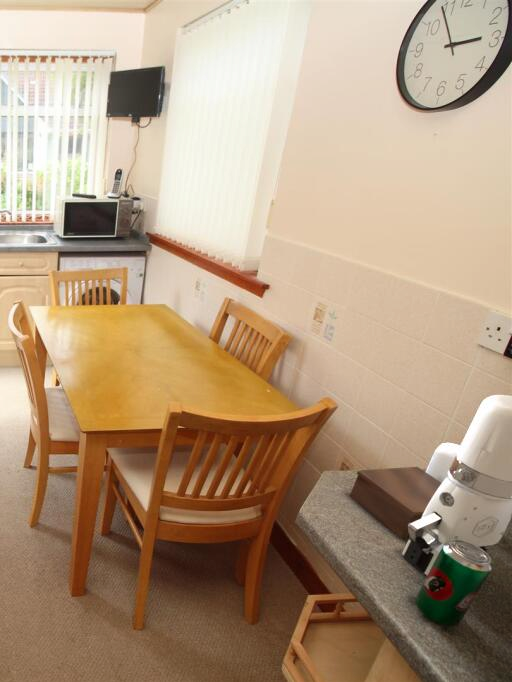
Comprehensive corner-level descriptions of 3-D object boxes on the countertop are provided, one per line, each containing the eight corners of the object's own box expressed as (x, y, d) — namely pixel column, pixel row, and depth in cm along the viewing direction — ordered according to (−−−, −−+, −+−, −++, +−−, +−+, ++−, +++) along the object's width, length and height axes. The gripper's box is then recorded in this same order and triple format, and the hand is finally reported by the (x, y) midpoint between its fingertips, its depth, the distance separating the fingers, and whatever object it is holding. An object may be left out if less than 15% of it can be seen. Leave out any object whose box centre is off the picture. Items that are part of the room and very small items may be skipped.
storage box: (405, 491, 95) (417, 466, 93) (464, 533, 85) (479, 507, 82) (347, 495, 93) (357, 470, 91) (400, 539, 83) (413, 512, 80)
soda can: (454, 636, 66) (492, 572, 61) (409, 610, 70) (442, 548, 65) (461, 616, 69) (498, 554, 64) (418, 592, 73) (449, 531, 68)
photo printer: (411, 490, 96) (436, 438, 91) (427, 487, 97) (452, 435, 92) (469, 527, 86) (499, 471, 82) (486, 523, 87) (517, 468, 83)
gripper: (461, 497, 65) (415, 587, 72) (563, 489, 68) (509, 577, 74) (410, 464, 72) (372, 549, 78) (504, 457, 75) (460, 540, 81)
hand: (439, 562), depth 76 cm, fingers open, 9 cm apart
